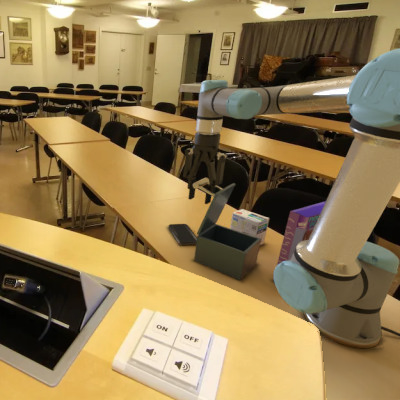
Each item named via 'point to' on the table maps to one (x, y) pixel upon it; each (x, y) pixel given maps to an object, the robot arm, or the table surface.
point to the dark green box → (227, 250)
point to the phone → (183, 234)
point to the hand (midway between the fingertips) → (199, 200)
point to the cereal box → (299, 229)
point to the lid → (213, 203)
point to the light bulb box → (250, 224)
